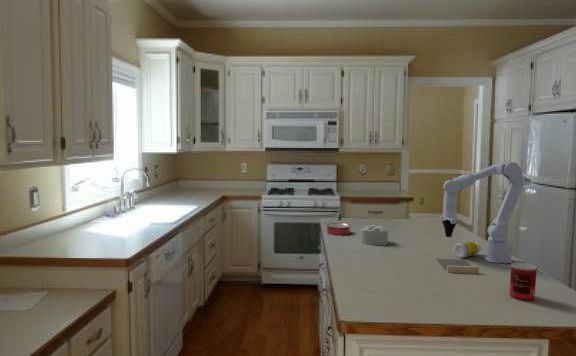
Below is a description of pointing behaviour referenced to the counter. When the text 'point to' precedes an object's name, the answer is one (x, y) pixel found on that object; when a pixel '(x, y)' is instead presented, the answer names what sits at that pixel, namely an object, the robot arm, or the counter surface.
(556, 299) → the counter surface
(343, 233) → the frying pan
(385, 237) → the lumpy-topped squat cylinder
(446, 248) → the counter surface
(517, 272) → the canned food
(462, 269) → the mat
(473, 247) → the supplement bottle
